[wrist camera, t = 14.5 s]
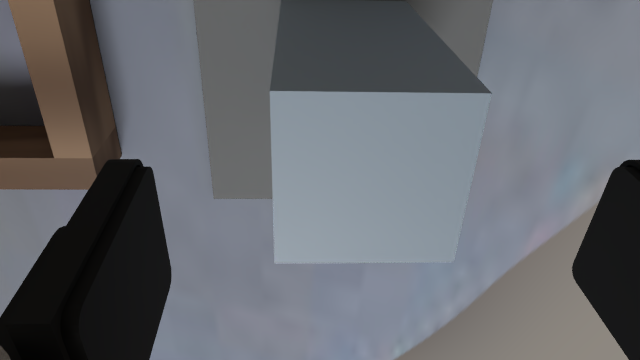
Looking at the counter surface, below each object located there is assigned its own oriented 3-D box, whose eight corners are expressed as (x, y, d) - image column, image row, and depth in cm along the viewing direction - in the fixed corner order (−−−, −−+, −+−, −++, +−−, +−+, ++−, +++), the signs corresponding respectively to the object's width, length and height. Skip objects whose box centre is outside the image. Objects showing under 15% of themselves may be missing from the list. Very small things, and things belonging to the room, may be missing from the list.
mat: (181, -139, 17) (179, -140, 17) (514, -127, 18) (519, -127, 17) (214, 194, 24) (213, 198, 24) (449, 194, 25) (451, 198, 25)
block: (281, -2, 19) (269, 91, 11) (406, 1, 19) (491, 93, 11) (282, 114, 22) (274, 263, 13) (392, 115, 22) (453, 262, 14)
